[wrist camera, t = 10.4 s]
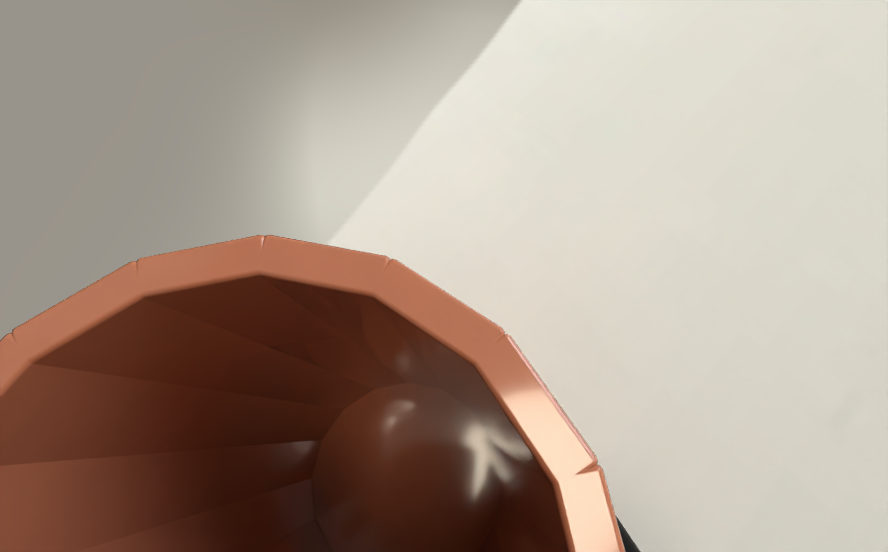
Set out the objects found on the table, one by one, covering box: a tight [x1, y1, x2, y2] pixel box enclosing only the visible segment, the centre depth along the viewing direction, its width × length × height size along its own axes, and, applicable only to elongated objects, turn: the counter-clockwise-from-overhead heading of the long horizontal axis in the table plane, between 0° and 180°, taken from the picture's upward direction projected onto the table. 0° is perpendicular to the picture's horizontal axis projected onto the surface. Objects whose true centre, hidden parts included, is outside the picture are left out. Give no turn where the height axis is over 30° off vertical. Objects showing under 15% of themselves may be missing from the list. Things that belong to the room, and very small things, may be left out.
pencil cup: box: [0, 235, 625, 552], centre depth 10 cm, size 7×7×12 cm
